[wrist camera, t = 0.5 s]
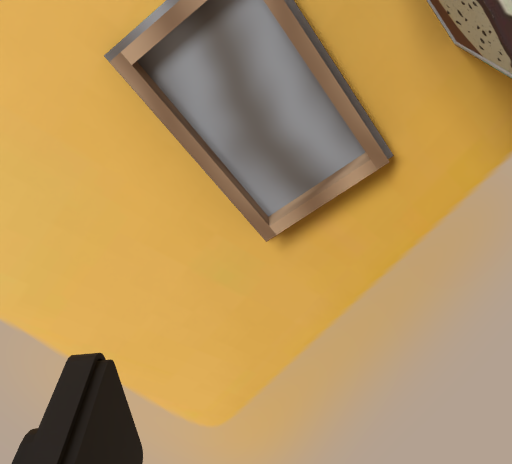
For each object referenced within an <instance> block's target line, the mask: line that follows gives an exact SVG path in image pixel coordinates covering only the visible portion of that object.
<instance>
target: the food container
mask: <svg viewBox="0 0 512 464" xmlns="http://www.w3.org/2000/svg"><path fill="white" fill-rule="evenodd" d="M427 2H428V3H429V5H430V7H431V8H432V10H433V11H434V13H435V14H436V16H437V18H438V19H439V21H440V22H441V24H442V25H443V27H444V28H445V30H446V32H447V33H448V35H449V36H450V38H451V39H452V41H453V42H454V44H455V45H457V46H458V47H460V48H462V49H463V50H465V51H467V52H468V53H470V54H472V55H473V56H475V57H477V58H478V59H480V60H482V61H483V62H485V63H487V64H488V65H490V66H492V67H493V68H495V69H497V70H498V71H500V72H502V73H503V74H505V75H507V76H509V77H510V78H512V0H427Z"/></svg>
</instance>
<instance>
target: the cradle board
mask: <svg viewBox="0 0 512 464" xmlns="http://www.w3.org/2000/svg"><path fill="white" fill-rule="evenodd" d="M104 57H105V58H106V59H107V60H108V61H109V62H110V63H111V65H112V66H113V67H114V68H115V69H116V70H117V71H118V73H119V74H120V75H121V76H122V77H123V78H124V79H125V81H126V82H127V83H128V84H129V85H130V86H131V87H132V89H133V90H134V91H135V92H136V93H137V94H138V95H139V97H140V98H141V99H142V100H143V101H144V102H145V103H146V105H147V106H148V107H149V108H150V109H151V110H152V111H153V113H154V114H155V115H156V116H157V117H158V118H159V119H160V121H161V122H162V123H163V124H164V125H165V126H166V128H167V129H168V130H169V131H170V132H171V133H172V134H173V136H174V137H175V138H176V139H177V140H178V141H179V142H180V144H181V145H182V146H183V147H184V148H185V149H186V150H187V152H188V153H189V154H190V155H191V156H192V157H193V158H194V160H195V161H196V162H197V163H198V164H199V165H200V166H201V168H202V169H203V170H204V171H205V172H206V173H207V174H208V176H209V177H210V178H211V179H212V180H213V181H214V182H215V184H216V185H217V186H218V187H219V188H220V189H221V190H222V192H223V193H224V194H225V195H226V196H227V197H228V198H229V200H230V201H231V202H232V203H233V204H234V205H235V206H236V208H237V209H238V210H239V211H240V212H241V213H242V214H243V216H244V217H245V218H246V219H247V220H248V221H249V222H250V224H251V225H252V226H253V227H254V228H255V229H256V230H257V232H258V233H259V234H260V235H261V236H262V237H263V238H264V239H265V241H266V242H267V241H268V240H270V239H271V238H273V237H274V236H276V235H277V234H279V233H281V232H282V231H284V230H285V229H287V228H288V227H290V226H291V225H293V224H295V223H296V222H298V221H299V220H301V219H302V218H304V217H305V216H307V215H308V214H310V213H312V212H313V211H315V210H316V209H318V208H319V207H321V206H322V205H324V204H325V203H327V202H329V201H330V200H332V199H333V198H335V197H336V196H338V195H339V194H341V193H342V192H344V191H346V190H347V189H349V188H350V187H352V186H353V185H355V184H356V183H358V182H359V181H361V180H363V179H364V178H366V177H367V176H369V175H370V174H372V173H373V172H375V171H376V170H378V169H380V168H381V167H383V166H384V165H386V164H387V163H389V160H388V159H389V158H391V157H392V156H394V155H393V154H392V152H391V151H390V149H389V148H388V146H387V145H386V143H385V141H384V140H383V138H382V137H381V135H380V134H379V132H378V131H377V129H376V127H375V126H374V124H373V123H372V121H371V120H370V118H369V117H368V115H367V113H366V112H365V110H364V109H363V107H362V106H361V104H360V103H359V101H358V99H357V98H356V96H355V95H354V93H353V92H352V90H351V89H350V87H349V85H348V84H347V82H346V81H345V79H344V78H343V76H342V75H341V73H340V71H339V70H338V68H337V67H336V65H335V64H334V62H333V61H332V59H331V57H330V56H329V54H328V53H327V51H326V50H325V48H324V47H323V45H322V44H321V42H320V40H319V39H318V37H317V36H316V34H315V33H314V31H313V30H312V28H311V26H310V25H309V23H308V22H307V20H306V19H305V17H304V16H303V14H302V12H301V11H300V9H299V8H298V6H297V5H296V3H295V2H294V0H166V1H165V2H164V3H163V4H162V5H161V6H160V7H158V8H157V9H156V10H155V11H154V12H153V13H152V14H151V15H149V16H148V17H147V18H146V19H145V20H144V21H143V22H141V23H140V24H139V25H138V26H137V27H136V28H135V29H134V30H132V31H131V32H130V33H129V34H128V35H127V36H126V37H125V38H123V39H122V40H121V41H120V42H119V43H118V44H117V45H116V46H114V47H113V48H112V49H111V50H110V51H109V52H108V53H107V54H105V55H104Z"/></svg>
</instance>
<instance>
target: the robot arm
mask: <svg viewBox="0 0 512 464" xmlns="http://www.w3.org/2000/svg"><path fill="white" fill-rule="evenodd" d="M142 462H143V450H142V445H141V442H140V439H139V436H138V433H137V430H136V427H135V424H134V421H133V418H132V415H131V412H130V409H129V406H128V403H127V400H126V397H125V394H124V391H123V388H122V385H121V382H120V379H119V376H118V373H117V370H116V367H115V364H114V362H113V360H105V357H104V355H103V354H102V353H93V354H82V355H71V356H70V357H69V358H68V360H67V362H66V364H65V366H64V369H63V371H62V374H61V376H60V378H59V381H58V383H57V385H56V388H55V390H54V392H53V395H52V397H51V400H50V402H49V404H48V407H47V409H46V412H45V414H44V416H43V418H42V421H41V423H40V426H39V428H36V429H32V430H30V431H29V432H28V433H27V434H26V435H25V437H24V438H23V441H22V442H21V444H20V446H19V448H18V451H17V453H16V455H15V457H14V460H13V462H12V464H142Z"/></svg>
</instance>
